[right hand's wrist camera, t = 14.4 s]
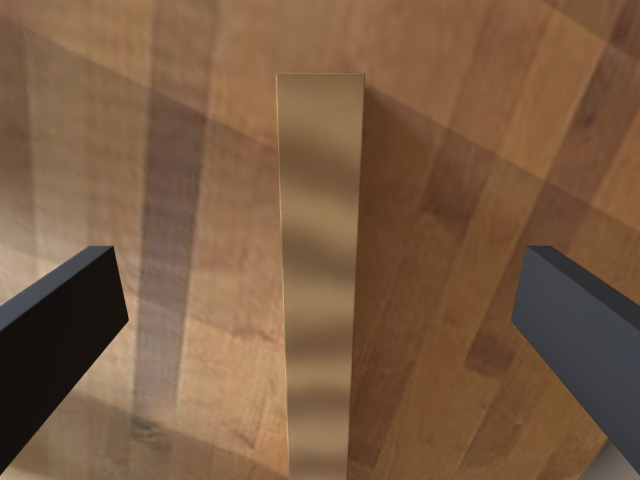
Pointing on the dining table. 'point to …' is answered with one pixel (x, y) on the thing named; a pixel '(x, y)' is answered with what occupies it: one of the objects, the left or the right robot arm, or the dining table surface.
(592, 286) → the right robot arm
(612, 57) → the dining table surface
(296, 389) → the bar
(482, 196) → the dining table surface
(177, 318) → the dining table surface
